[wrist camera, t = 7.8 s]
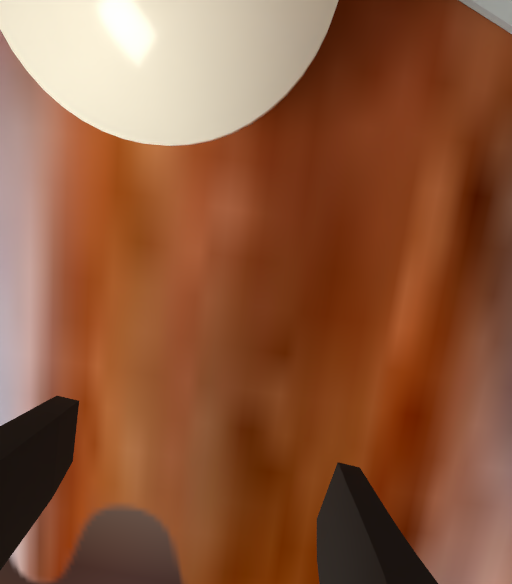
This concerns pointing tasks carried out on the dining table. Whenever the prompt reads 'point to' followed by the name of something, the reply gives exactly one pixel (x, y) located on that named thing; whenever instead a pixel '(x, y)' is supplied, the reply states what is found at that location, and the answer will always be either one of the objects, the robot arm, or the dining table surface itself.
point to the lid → (167, 60)
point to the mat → (494, 11)
